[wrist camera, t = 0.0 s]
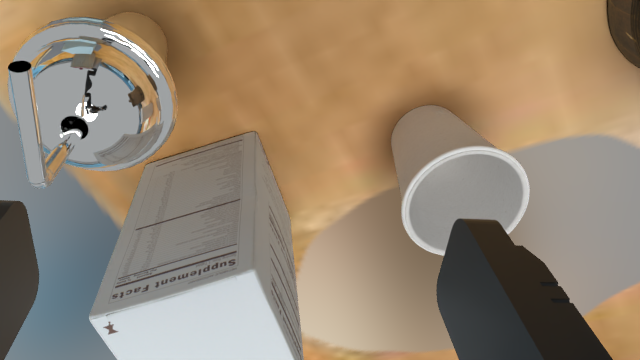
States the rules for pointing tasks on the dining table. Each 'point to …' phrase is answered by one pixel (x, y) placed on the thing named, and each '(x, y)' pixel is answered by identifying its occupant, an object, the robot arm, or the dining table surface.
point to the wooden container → (626, 27)
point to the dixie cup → (452, 177)
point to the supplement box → (203, 262)
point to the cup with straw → (92, 94)
